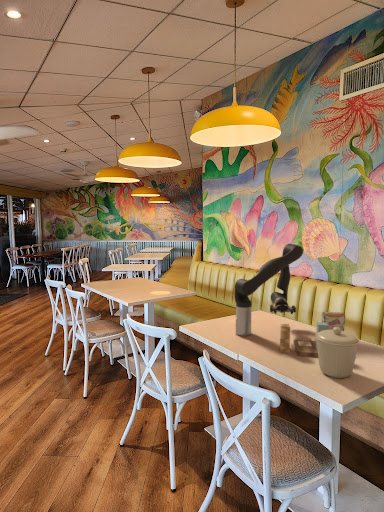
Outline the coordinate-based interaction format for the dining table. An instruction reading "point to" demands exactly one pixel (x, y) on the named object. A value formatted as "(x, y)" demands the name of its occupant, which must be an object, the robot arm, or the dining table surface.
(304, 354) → the frame base
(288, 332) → the oak post
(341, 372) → the canister
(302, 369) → the dining table surface
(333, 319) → the candy bar box
